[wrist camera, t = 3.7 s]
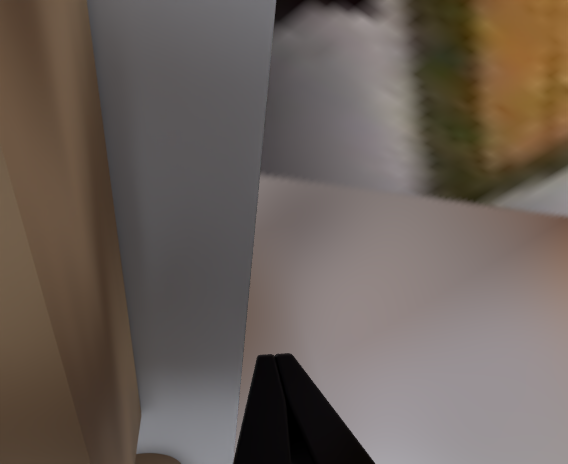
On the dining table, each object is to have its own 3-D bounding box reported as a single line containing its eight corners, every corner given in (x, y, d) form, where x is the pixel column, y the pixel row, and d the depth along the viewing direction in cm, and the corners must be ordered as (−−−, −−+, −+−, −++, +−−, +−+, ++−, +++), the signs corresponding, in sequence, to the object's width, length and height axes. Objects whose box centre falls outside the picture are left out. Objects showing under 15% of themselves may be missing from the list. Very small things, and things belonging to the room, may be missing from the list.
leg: (-140, -110, 5) (-948, -313, 1) (76, -76, 5) (-139, -165, 2) (49, 423, 11) (-20, 624, 7) (141, 415, 11) (115, 599, 8)
